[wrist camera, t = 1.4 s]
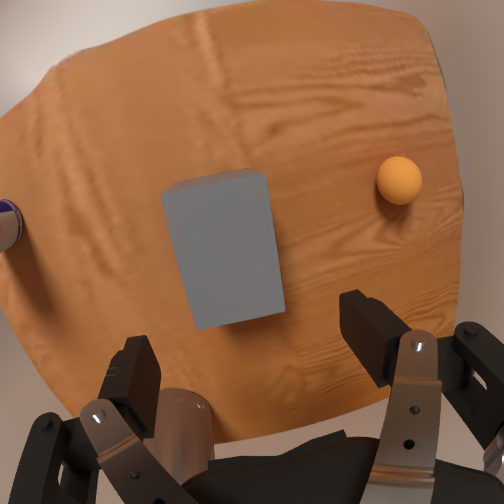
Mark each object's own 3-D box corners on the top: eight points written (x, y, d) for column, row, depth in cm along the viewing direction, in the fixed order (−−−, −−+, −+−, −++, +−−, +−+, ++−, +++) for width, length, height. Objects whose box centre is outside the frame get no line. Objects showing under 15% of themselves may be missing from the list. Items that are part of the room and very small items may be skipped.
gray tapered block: (264, 268, 30) (285, 311, 22) (198, 282, 30) (197, 330, 21) (247, 168, 27) (265, 173, 18) (175, 182, 26) (160, 194, 18)
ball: (388, 209, 30) (415, 219, 25) (359, 181, 29) (385, 187, 24) (410, 175, 29) (438, 180, 25) (383, 146, 28) (411, 147, 23)
